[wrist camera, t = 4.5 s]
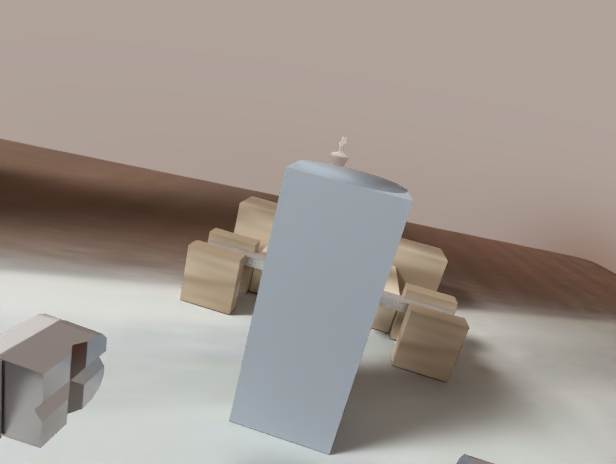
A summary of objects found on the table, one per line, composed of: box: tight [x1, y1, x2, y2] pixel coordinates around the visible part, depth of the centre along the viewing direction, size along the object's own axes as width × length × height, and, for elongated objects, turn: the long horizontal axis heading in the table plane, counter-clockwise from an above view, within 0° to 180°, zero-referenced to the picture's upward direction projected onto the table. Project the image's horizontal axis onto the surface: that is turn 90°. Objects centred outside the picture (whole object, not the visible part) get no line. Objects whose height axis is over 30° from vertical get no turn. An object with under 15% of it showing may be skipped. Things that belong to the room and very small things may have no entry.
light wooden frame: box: [180, 196, 469, 382], centre depth 26 cm, size 12×16×4 cm
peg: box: [229, 159, 413, 454], centre depth 15 cm, size 4×4×10 cm
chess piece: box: [331, 137, 348, 167], centre depth 44 cm, size 5×5×10 cm
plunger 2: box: [379, 291, 453, 315], centre depth 22 cm, size 1×6×1 cm, turn 79°
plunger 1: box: [208, 240, 266, 270], centre depth 23 cm, size 1×6×1 cm, turn 79°
